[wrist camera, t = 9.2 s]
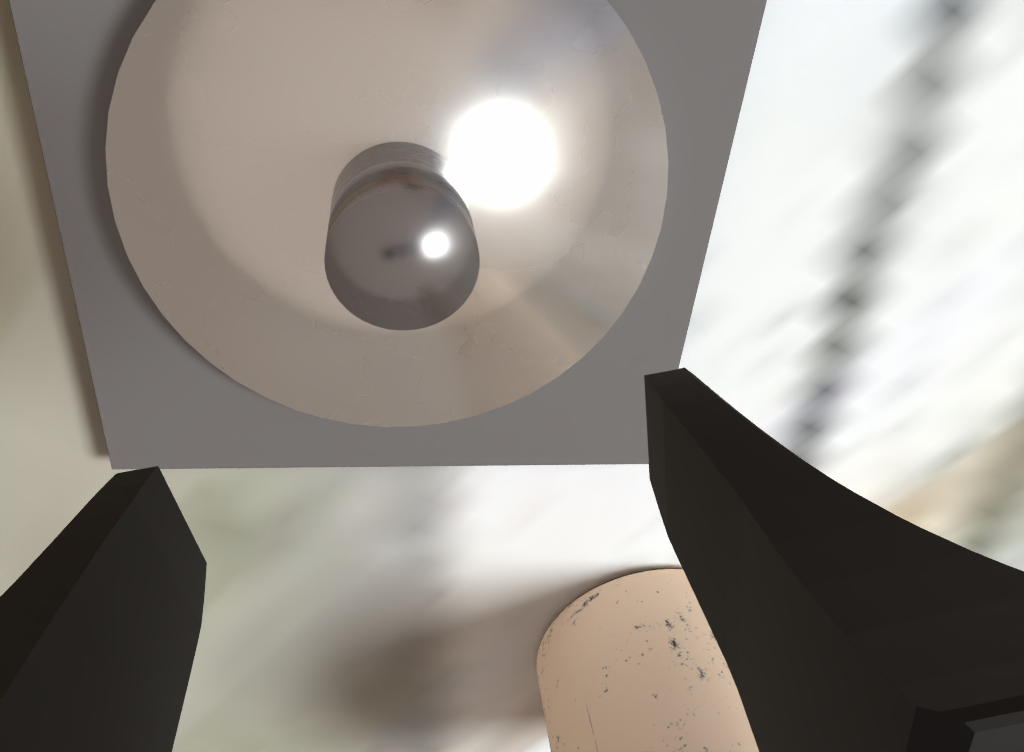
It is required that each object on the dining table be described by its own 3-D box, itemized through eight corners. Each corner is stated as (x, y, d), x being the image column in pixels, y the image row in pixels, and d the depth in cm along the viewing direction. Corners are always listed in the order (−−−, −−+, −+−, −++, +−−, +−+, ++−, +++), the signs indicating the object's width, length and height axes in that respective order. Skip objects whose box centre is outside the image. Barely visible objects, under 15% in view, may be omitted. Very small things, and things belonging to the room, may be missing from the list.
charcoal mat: (786, -134, 18) (798, -132, 17) (650, 451, 27) (655, 463, 26) (-27, -222, 15) (-41, -224, 15) (117, 456, 24) (111, 469, 24)
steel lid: (653, -158, 17) (711, -151, 14) (666, 370, 24) (706, 447, 21) (6, -55, 16) (-77, -27, 13) (220, 450, 24) (197, 540, 21)
